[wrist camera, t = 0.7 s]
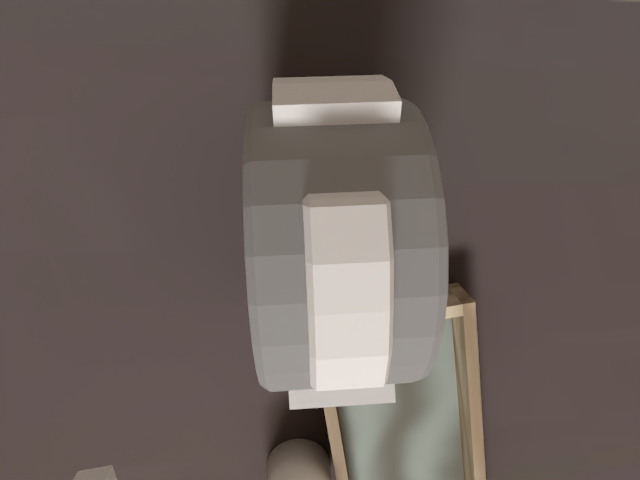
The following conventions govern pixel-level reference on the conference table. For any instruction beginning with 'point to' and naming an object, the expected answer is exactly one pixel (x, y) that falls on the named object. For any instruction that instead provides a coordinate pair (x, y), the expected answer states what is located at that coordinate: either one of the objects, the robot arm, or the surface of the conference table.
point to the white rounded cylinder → (298, 461)
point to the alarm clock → (342, 241)
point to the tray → (420, 416)
